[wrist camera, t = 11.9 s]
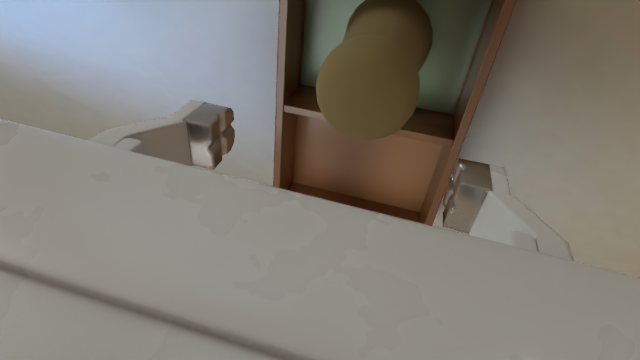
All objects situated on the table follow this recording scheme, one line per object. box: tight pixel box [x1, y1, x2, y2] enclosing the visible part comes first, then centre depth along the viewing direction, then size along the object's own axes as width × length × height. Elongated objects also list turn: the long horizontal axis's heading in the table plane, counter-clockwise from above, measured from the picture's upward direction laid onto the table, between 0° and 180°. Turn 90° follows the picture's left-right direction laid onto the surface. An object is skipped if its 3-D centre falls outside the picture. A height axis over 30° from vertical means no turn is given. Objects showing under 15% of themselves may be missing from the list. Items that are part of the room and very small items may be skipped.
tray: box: [273, 0, 517, 226], centre depth 29 cm, size 13×20×5 cm, turn 174°
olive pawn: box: [316, 0, 433, 140], centre depth 22 cm, size 6×6×11 cm
